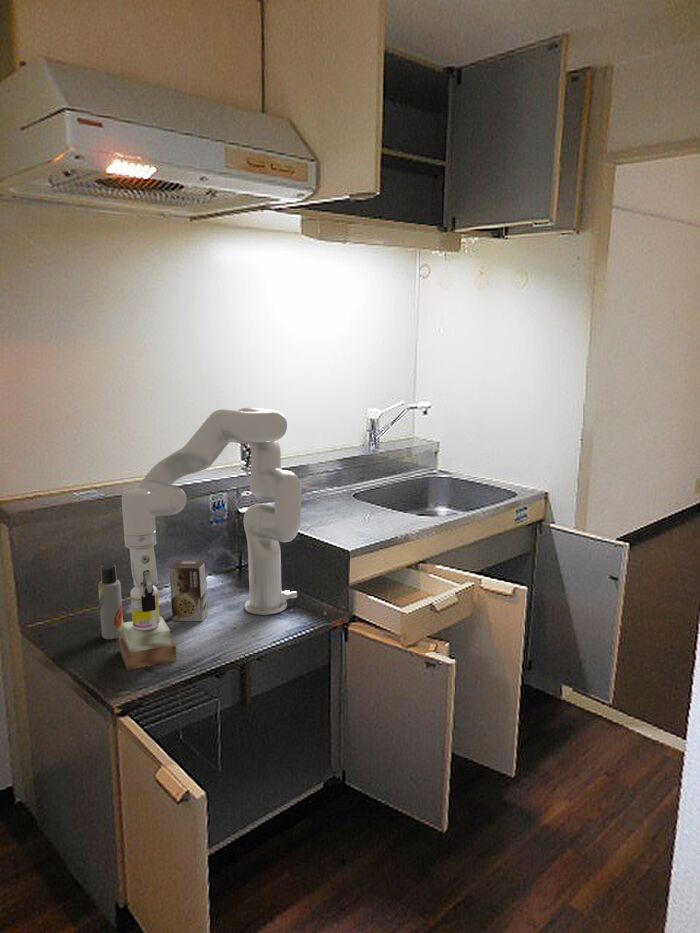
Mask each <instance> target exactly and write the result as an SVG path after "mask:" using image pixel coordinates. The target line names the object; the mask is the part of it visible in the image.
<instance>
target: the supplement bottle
mask: <svg viewBox="0 0 700 933" xmlns="http://www.w3.org/2000/svg"><path fill="white" fill-rule="evenodd" d="M143 577H144V575H143ZM132 580H133V588H131V590H130V593H129V594H130V605H131V607H130V608H131V618H132V619H131V621H133V627H134V629H136V630H140V631H147V630H152V629H154V628H156V627H158V626H159V624H160V617H159V616H160V605H159V592H158V588H157V586H156V585H155V584H153V589H154V594H155V605H156V609H155V610H153V611H148V612H143V611H142V602H141V596H142V591H141V587H139V586H137V584H136V581H135V579H132ZM152 583H153V582H152ZM142 584H146V583H142ZM134 585H135V587H134ZM145 588H146V587H145ZM145 588H144V591H145Z"/></svg>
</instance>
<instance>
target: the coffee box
mask: <svg viewBox="0 0 700 933" xmlns="http://www.w3.org/2000/svg"><path fill="white" fill-rule="evenodd" d="M206 568H207V567H206V561H205V560H175V561H174V562H173V563H172V564H171V566H169V568H168V573H169V585H170V601H171V615H172V616H171V617H172V618H171V619H172V621H174V622H176V621H177V622H178V621H179V622H180V621H181V622H203V621H204V620H205V619H206V617H207V616H209V607H208V606H209V603H208V587H207V586H208V584H207V569H206Z"/></svg>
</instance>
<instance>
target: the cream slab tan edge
mask: <svg viewBox="0 0 700 933" xmlns="http://www.w3.org/2000/svg"><path fill="white" fill-rule="evenodd" d="M159 617H160V624H159V626H158V627H156V628H154V629H152V630H147V631H140V630H136V629H134V627H133V620H131V621H127V622H126V621H125V622H123V623H122V628H123V635H122V636H121V637H119V638H118V647H119V648H118V651H119V653H120V655H121V658H122V660H123V664H124V667H125V668H126V671H127V670H129V671H133V670H137V669H136V668H138V669H142V668H141V667H143V668H146V667H145V666H148V667H151V666H150V665H153V666H156V665H155V664H158V665H161V664H160V663H163V664H165V663H164V662H168V663H171V662H170V661H173V662H176V661H175V660H177V647H176V646H177V645H176V643H175V642H174V640H173V639H172V637H171V630H170V628H169V626H168V624H167V623H166V621H165V619H164V618H163V616H161V615H159ZM132 669H133V670H132Z"/></svg>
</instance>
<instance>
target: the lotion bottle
mask: <svg viewBox="0 0 700 933" xmlns="http://www.w3.org/2000/svg"><path fill="white" fill-rule="evenodd" d="M116 568H117V567H116V565H115V564H113V563H106V564H103V565H101V566H100V578H101V581H100V582H98V584H97V586H98V599H99V600H98V602H99V603H98V604H99V611H100V612H99V614H100V628H101V636H102V638H103V639H105V640H115V639H116V640H117V639H119V637H121V636H123V628H122V623H124V617H123V615H124V614H123V601H122V586H121V581H120V580H119V579H118V577H117V569H116Z"/></svg>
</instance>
